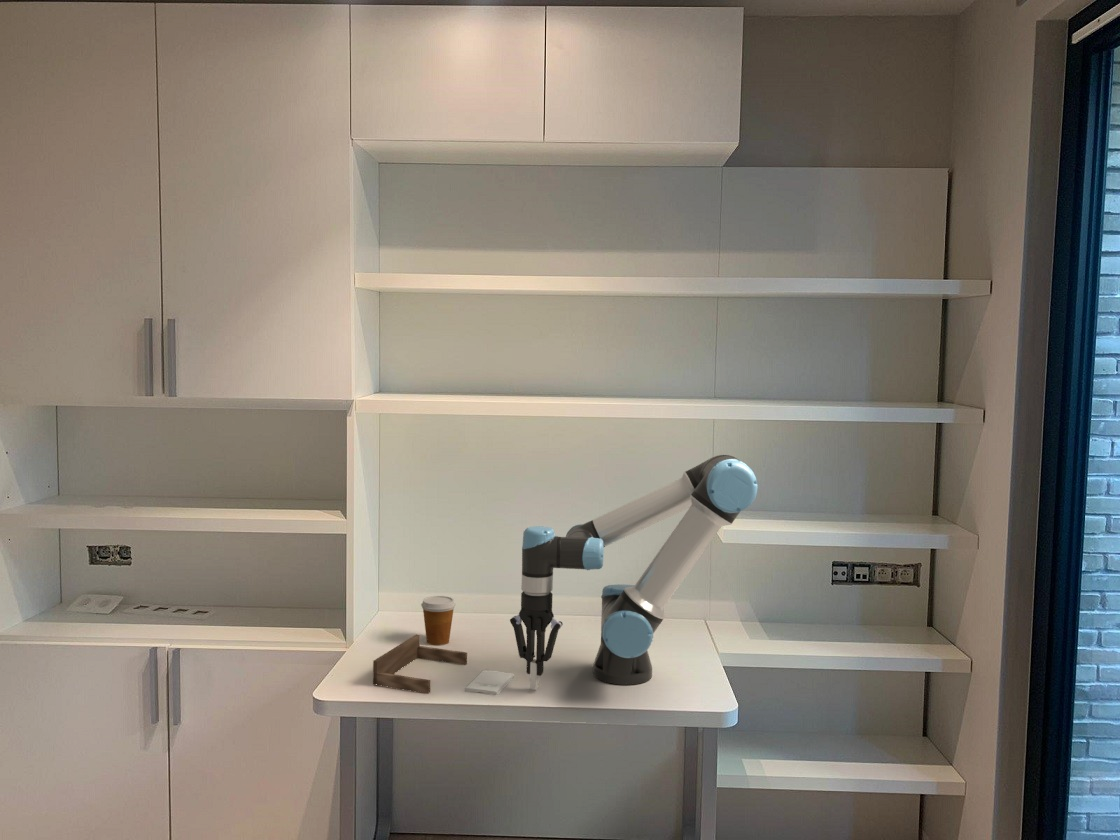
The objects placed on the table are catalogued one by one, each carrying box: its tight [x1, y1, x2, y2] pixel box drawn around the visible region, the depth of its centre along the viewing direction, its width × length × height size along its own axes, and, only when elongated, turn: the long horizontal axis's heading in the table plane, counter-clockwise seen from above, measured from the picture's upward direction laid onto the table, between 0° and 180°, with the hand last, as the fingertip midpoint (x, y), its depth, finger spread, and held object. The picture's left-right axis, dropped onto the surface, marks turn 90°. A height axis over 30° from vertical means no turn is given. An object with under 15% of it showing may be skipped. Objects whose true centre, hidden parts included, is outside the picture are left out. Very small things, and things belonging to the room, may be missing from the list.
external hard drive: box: [464, 669, 514, 696], centre depth 214 cm, size 2×8×12 cm
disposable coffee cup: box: [420, 595, 456, 646], centre depth 244 cm, size 10×10×12 cm
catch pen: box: [372, 634, 468, 694], centre depth 219 cm, size 15×22×6 cm
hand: (534, 687), depth 209 cm, fingers closed
